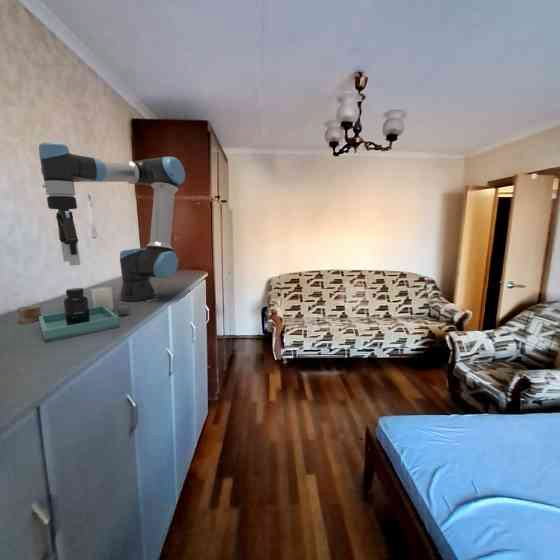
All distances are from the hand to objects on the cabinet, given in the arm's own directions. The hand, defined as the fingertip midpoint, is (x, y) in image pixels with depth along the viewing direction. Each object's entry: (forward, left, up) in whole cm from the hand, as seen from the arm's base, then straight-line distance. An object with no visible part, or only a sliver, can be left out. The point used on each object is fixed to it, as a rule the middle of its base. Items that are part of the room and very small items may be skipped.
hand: (71, 263), depth 100 cm
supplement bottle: (0, 0, -21) cm, 21 cm away
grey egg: (-15, -4, -22) cm, 26 cm away
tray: (0, 0, -22) cm, 22 cm away
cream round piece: (-11, -17, -22) cm, 29 cm away
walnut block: (+12, -20, -22) cm, 32 cm away
